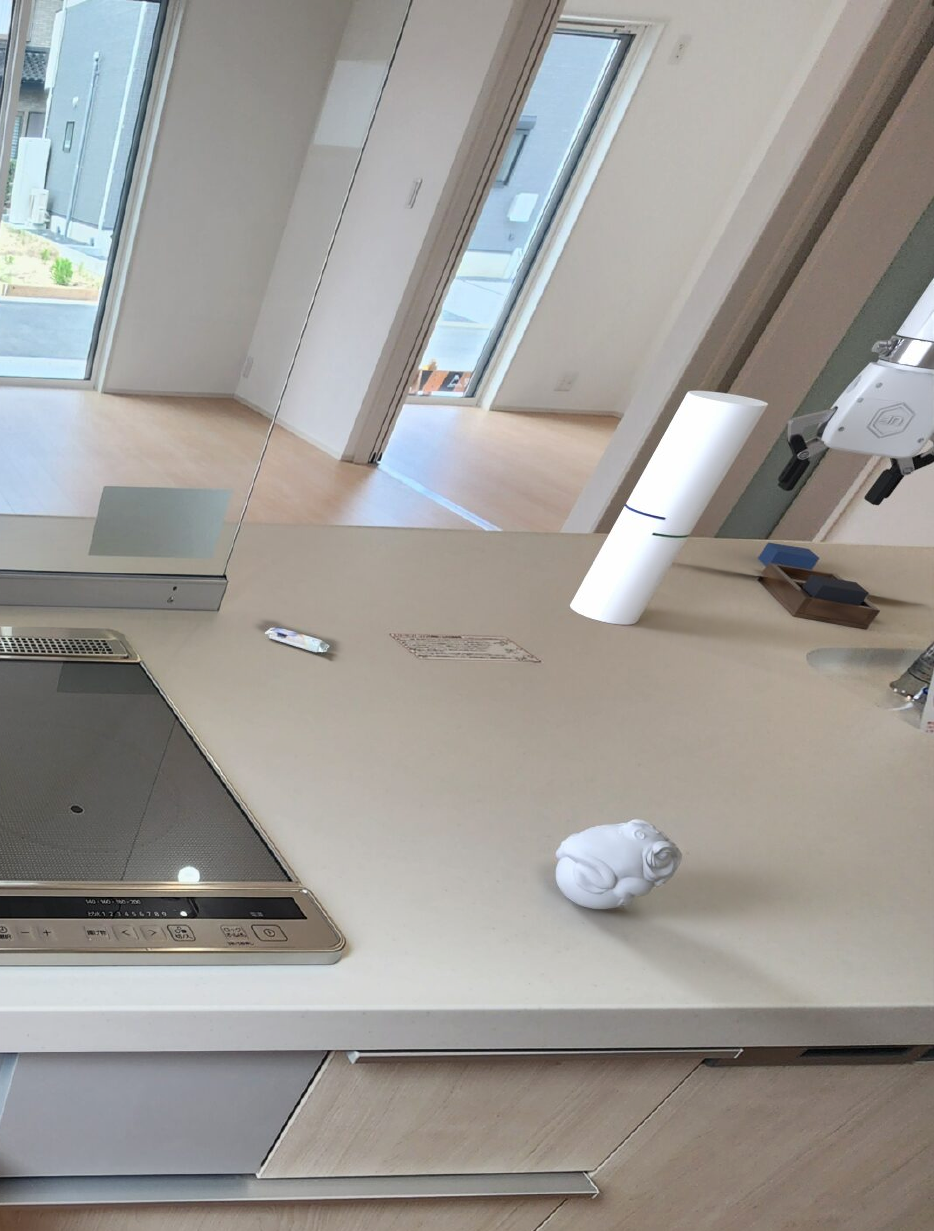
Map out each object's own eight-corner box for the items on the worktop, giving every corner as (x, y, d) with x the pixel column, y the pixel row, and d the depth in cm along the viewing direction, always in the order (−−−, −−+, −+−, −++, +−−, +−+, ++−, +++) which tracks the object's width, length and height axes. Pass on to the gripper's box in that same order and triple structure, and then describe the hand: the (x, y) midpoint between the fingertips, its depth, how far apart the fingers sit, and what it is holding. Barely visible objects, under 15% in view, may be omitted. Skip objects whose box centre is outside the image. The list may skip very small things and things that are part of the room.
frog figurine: (656, 935, 68) (716, 859, 64) (552, 920, 69) (605, 844, 65) (614, 883, 73) (667, 809, 69) (517, 869, 74) (565, 795, 70)
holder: (824, 591, 130) (836, 573, 129) (866, 629, 119) (880, 610, 118) (757, 579, 132) (768, 562, 131) (792, 616, 122) (805, 597, 120)
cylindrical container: (577, 597, 123) (693, 388, 108) (642, 614, 119) (772, 400, 104) (563, 610, 119) (682, 395, 104) (630, 629, 115) (763, 408, 100)
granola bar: (329, 650, 105) (333, 641, 104) (323, 657, 103) (326, 648, 103) (269, 631, 108) (272, 622, 108) (261, 637, 107) (264, 628, 106)
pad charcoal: (838, 607, 124) (856, 582, 122) (850, 618, 121) (869, 593, 119) (793, 599, 125) (810, 574, 123) (804, 610, 122) (822, 585, 120)
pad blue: (793, 572, 136) (809, 548, 134) (803, 581, 133) (820, 557, 131) (752, 565, 137) (767, 542, 135) (761, 574, 134) (777, 551, 132)
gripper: (850, 350, 118) (759, 490, 128) (1028, 372, 113) (918, 515, 123) (827, 342, 124) (742, 476, 134) (996, 362, 119) (894, 500, 129)
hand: (826, 495), depth 129 cm, fingers open, 9 cm apart
